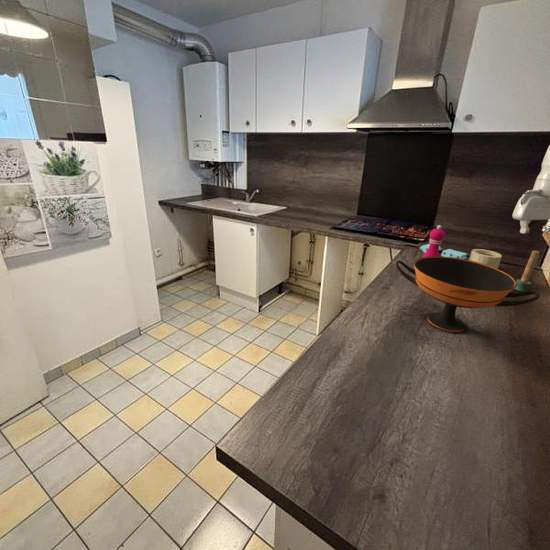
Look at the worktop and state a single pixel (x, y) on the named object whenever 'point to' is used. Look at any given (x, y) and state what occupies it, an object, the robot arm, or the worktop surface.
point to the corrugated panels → (447, 252)
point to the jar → (486, 257)
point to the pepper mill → (435, 242)
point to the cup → (462, 287)
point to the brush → (527, 273)
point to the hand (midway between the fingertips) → (534, 232)
